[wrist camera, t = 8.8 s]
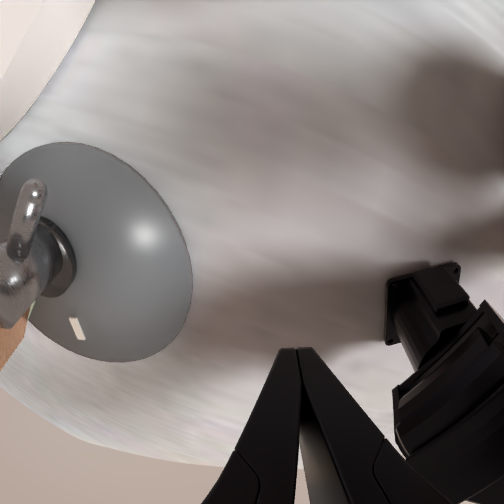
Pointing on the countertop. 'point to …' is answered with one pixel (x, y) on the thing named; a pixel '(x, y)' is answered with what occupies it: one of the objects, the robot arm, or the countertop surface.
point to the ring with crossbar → (33, 50)
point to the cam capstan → (30, 265)
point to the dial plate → (106, 253)
